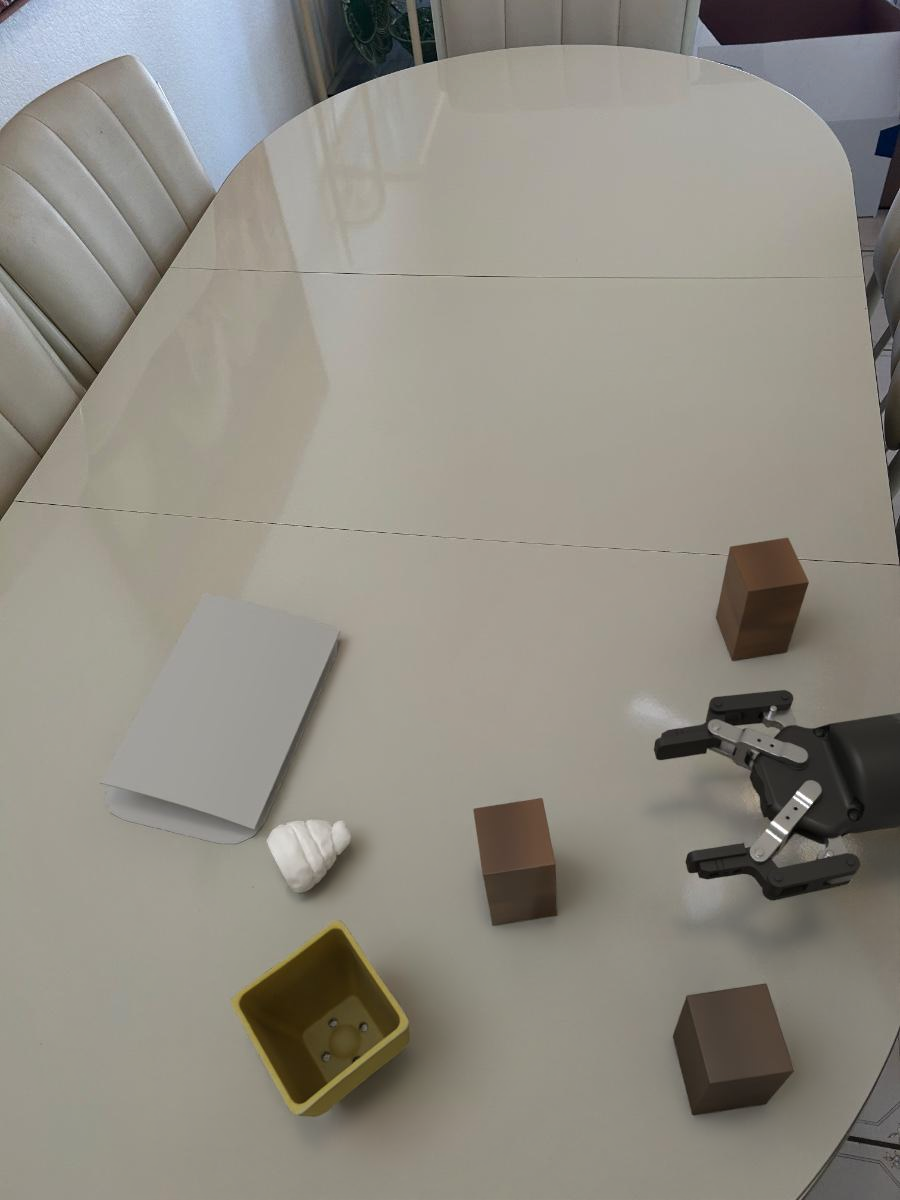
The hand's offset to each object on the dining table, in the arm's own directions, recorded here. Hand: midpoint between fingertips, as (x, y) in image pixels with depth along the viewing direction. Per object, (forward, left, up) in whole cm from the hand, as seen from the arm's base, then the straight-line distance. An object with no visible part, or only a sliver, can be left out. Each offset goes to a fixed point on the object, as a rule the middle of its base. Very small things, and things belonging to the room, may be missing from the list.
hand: (671, 804), depth 64 cm
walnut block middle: (+11, +1, -11) cm, 15 cm away
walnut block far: (-11, -21, -11) cm, 26 cm away
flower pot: (+24, +12, -11) cm, 29 cm away
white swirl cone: (+27, -2, -11) cm, 29 cm away
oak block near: (-2, +14, -11) cm, 18 cm away
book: (+37, -16, -11) cm, 42 cm away
